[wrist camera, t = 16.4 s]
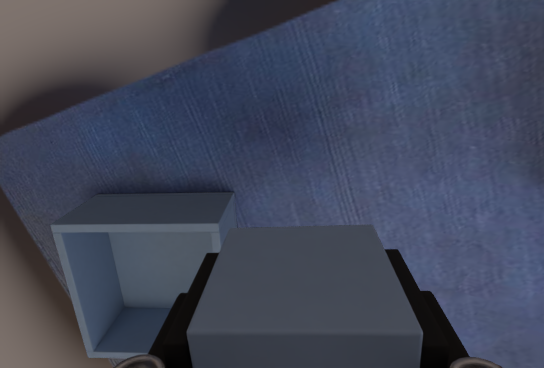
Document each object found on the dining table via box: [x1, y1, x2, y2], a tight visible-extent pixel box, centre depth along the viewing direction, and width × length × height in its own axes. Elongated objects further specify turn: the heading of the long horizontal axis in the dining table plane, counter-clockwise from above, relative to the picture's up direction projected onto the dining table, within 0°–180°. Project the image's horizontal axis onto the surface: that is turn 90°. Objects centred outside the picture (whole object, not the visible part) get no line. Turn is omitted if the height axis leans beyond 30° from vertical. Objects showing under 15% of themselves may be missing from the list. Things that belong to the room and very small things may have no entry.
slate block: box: [187, 225, 423, 368], centre depth 9 cm, size 4×4×4 cm
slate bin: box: [50, 192, 237, 359], centre depth 26 cm, size 11×11×6 cm
